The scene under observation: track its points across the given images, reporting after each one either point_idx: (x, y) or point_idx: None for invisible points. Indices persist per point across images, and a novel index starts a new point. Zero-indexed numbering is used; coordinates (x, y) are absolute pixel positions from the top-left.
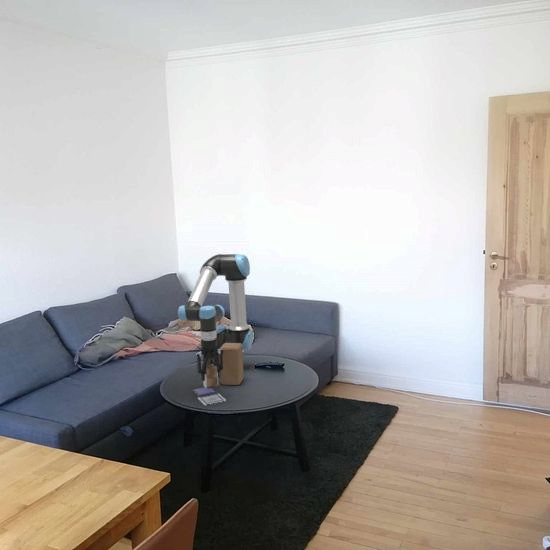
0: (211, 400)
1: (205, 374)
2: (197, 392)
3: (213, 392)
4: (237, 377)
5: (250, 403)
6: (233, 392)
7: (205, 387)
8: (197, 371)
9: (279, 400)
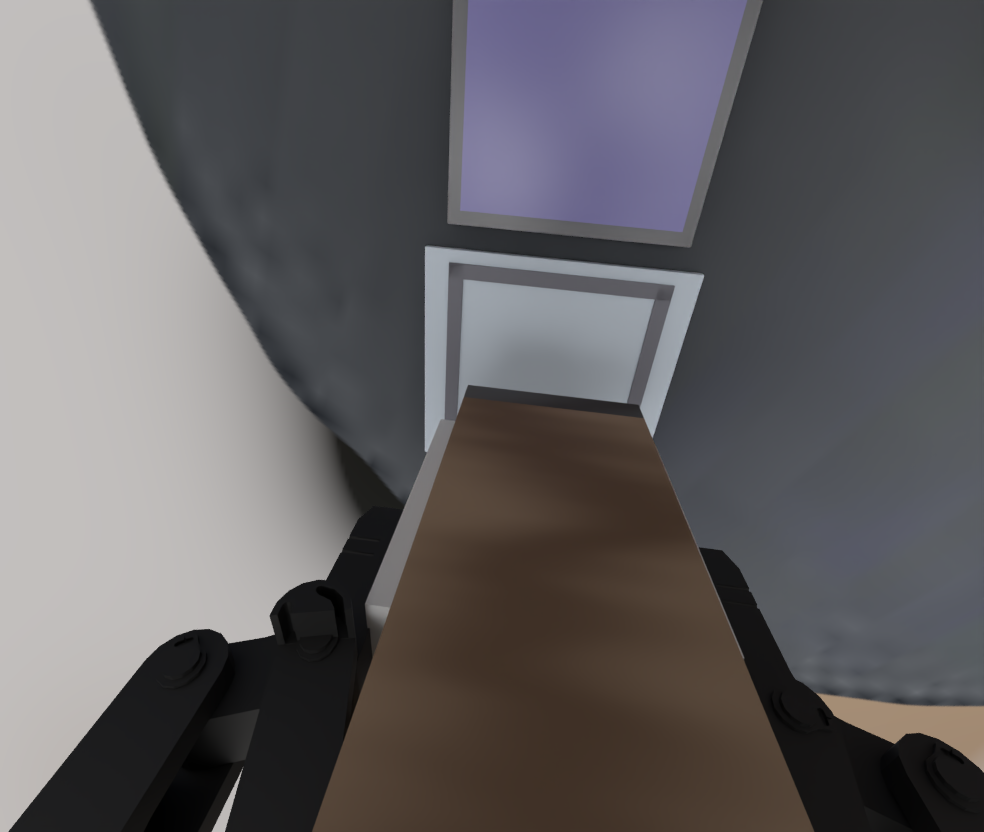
0: None
1: None
2: (469, 98)
3: (656, 238)
4: None
5: None
6: (872, 327)
7: None
8: (148, 685)
9: (946, 675)
